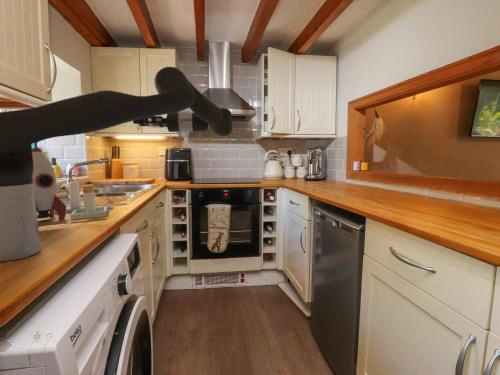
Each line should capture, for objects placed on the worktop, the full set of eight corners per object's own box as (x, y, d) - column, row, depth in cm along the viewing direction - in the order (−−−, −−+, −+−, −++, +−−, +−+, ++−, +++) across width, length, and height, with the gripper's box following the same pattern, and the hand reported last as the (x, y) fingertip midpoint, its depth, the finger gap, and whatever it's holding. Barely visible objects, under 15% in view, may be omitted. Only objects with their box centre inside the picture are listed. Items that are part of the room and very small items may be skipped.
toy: (29, 230, 88) (17, 136, 84) (20, 225, 94) (8, 138, 90) (68, 223, 97) (59, 137, 93) (57, 219, 103) (48, 139, 99)
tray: (106, 220, 100) (105, 211, 100) (71, 223, 96) (70, 214, 95) (108, 214, 110) (107, 206, 110) (76, 217, 106) (75, 208, 105)
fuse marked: (95, 216, 102) (93, 185, 100) (84, 218, 100) (81, 185, 99) (96, 214, 105) (94, 184, 104) (85, 215, 104) (83, 184, 102)
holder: (113, 213, 111) (112, 206, 111) (32, 221, 100) (31, 213, 100) (114, 210, 118) (113, 203, 117) (38, 217, 107) (37, 209, 106)
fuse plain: (80, 212, 108) (77, 182, 106) (69, 213, 106) (66, 182, 105) (82, 210, 111) (79, 181, 110) (71, 211, 110) (68, 181, 108)
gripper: (181, 114, 111) (139, 114, 108) (178, 109, 97) (130, 108, 94) (182, 133, 112) (141, 133, 109) (179, 130, 98) (131, 130, 95)
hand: (136, 122), depth 102 cm, fingers open, 8 cm apart
